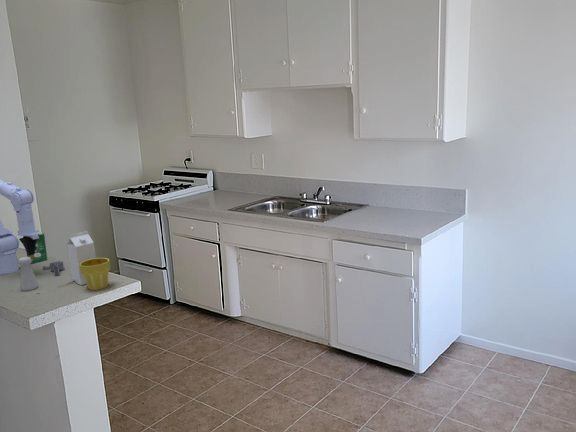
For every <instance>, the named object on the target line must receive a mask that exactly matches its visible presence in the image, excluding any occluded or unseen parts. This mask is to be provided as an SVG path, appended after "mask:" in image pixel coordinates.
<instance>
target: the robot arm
mask: <svg viewBox="0 0 576 432" xmlns="http://www.w3.org/2000/svg"><path fill="white" fill-rule="evenodd" d="M0 195H1V196H3V197H4V198H6V199H7V200H9V202H10V204H11V205H12V207H13V210H14V212H15V214H16V220H17V227H18V230H17V235H18V236H19V237H20V238H18V237H17V236H16V235H15V233H14V232H13V231H12V230H11V229H7V228H5V227H4V224H3V222H2V220H1V219H0V275H8V274H13V273H16V272H18V271H19V264H18V259H17V258H18V257H17V252H18V248H20V242H21V244H22V245H23V247H24V249H25V252H26V255H27V254H28V255H29V256H30V255H34V254H35V245H36V242H37V239H39V237H38V234H39V233H40V232H39V229H36V226H35V220H34V214H33V209H32V204H33V202H34V200H35V199H34V194H33V192H32V191H31V190H30V189H22V188H21V187H18V186H16V185H15V184H13V182H11V181H8V182H7V181H6V182H5V181H3V180H2V179H0Z"/></svg>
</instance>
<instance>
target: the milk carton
mask: <svg viewBox="0 0 576 432" xmlns="http://www.w3.org/2000/svg"><path fill="white" fill-rule="evenodd" d="M94 243H95V242H94V240H93V239H92V238H91V236H90V234H89V231H87V230H85V231H81V232H77V233H73V234H72V233H71V234H69V239H68V241H67V243H66V247H67V253H68V254H67V255H68V260H69V266H70V267H69V268H70V274H71V279H72V283H74V284H77V285H80V286H83V285H87V283H86V280H85V278H84V276H83V274H81V271H80V266H79V264H80V263H81V262H83V261H85V260H89V259H94V258H97V257H96V250H95V244H94Z"/></svg>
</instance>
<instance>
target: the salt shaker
mask: <svg viewBox="0 0 576 432" xmlns="http://www.w3.org/2000/svg"><path fill="white" fill-rule="evenodd" d="M17 262H18V266H20V286H19V288H20V289H21V291H22V292H29V291H34V290H37V288H38V286H39V282H38V279H37V278H36V275H35V272H34V270H33V268H32V264H31V265H30V263H31V262H32V261H31V258H30V257H27V256H23V257H20V258H19V259H17Z"/></svg>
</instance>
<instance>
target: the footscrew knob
mask: <svg viewBox="0 0 576 432" xmlns="http://www.w3.org/2000/svg"><path fill="white" fill-rule="evenodd" d="M49 265H50V269H49V270H50V272H51V273H53V274H54V276H55V277H58V276H60V272H63V271H64V270H65V265H64V261H60V260H59V261H54V262H51V263H49Z"/></svg>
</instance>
